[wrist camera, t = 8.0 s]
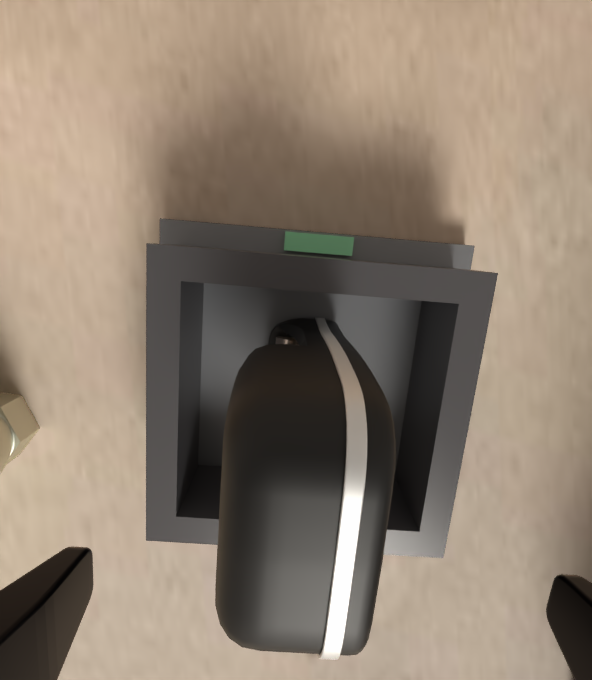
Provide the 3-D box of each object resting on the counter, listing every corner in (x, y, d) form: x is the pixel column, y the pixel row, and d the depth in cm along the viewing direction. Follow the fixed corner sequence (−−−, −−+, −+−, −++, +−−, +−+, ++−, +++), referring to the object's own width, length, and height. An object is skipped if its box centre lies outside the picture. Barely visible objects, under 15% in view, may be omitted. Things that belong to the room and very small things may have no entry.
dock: (465, 245, 19) (526, 244, 14) (420, 506, 22) (457, 580, 17) (166, 220, 18) (122, 209, 14) (163, 490, 22) (126, 561, 17)
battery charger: (256, 307, 18) (206, 397, 7) (338, 314, 19) (412, 412, 7) (247, 446, 20) (194, 696, 9) (323, 451, 20) (365, 704, 9)
